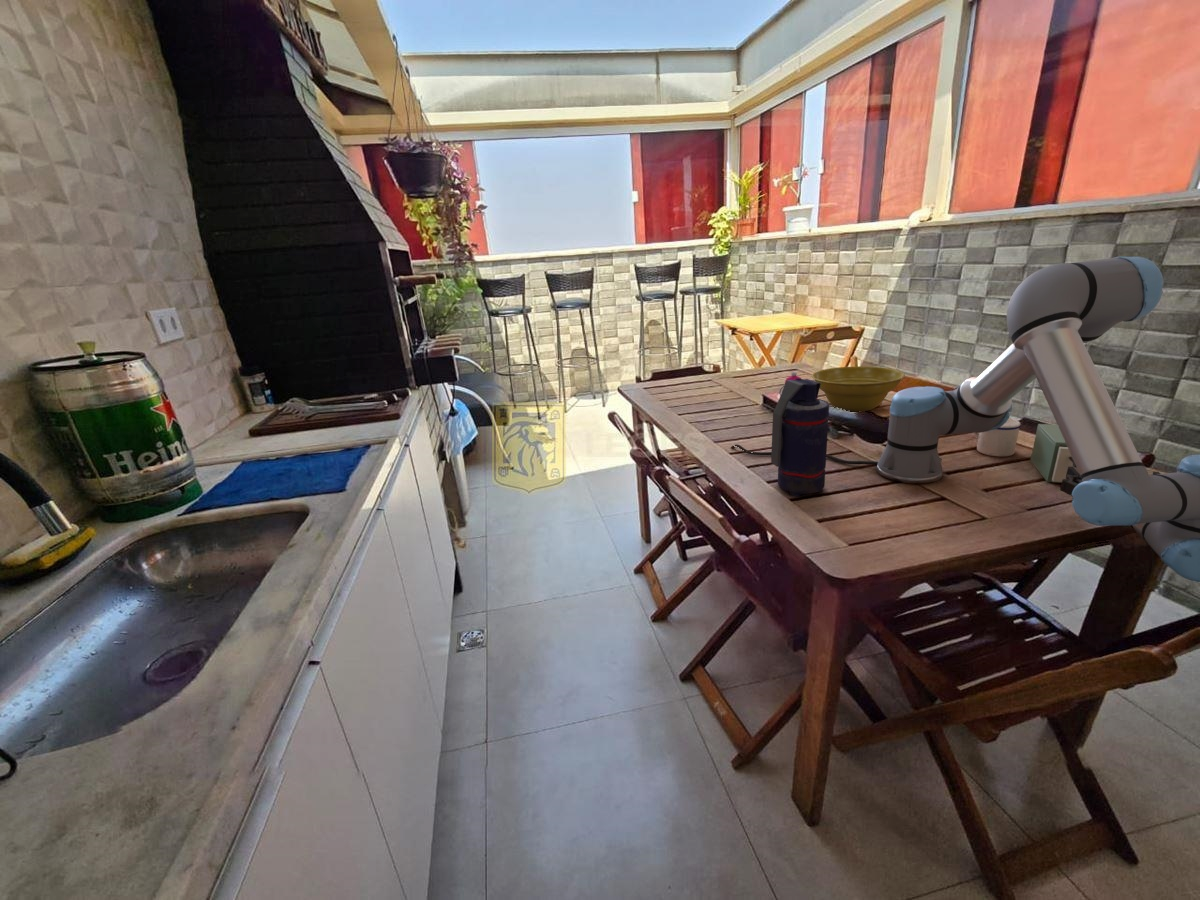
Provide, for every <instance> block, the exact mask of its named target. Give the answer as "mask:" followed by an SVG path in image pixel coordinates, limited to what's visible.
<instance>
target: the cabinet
mask: <svg viewBox="0 0 1200 900" xmlns="http://www.w3.org/2000/svg"><path fill="white" fill-rule="evenodd" d="M1059 446H1067V444H1066V442H1065V440H1064V438H1063V436H1062V433H1061V431H1060V429H1059V427H1058V424H1055V423H1053V424H1052V423H1051V424H1049V423H1037V428H1036V433H1035V438H1034V441H1033V446H1032V450H1031V456H1030V459H1029V461H1030V462H1031V464H1032V465H1033V466H1034V467H1035V468H1036V469H1037V471H1038V472H1039V474H1040V475H1041V476H1042V477H1043V479H1044V481H1046V482H1047V483H1054V482H1053V481H1052V476H1053V471H1054V467H1055V463H1056V459H1057V454H1058V450H1059ZM1055 483H1058V484H1062V482H1055Z"/></svg>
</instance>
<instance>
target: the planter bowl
mask: <svg viewBox="0 0 1200 900" xmlns="http://www.w3.org/2000/svg"><path fill="white" fill-rule="evenodd" d="M905 377H906V373H904V372H903V371H901V370H897V369H894V368H888V367H881V366H880V367H879V366H865V365H864V366H862V365H861V366H855V365H854V366H841V367H831V368H824V369H821V370H818V371H815V372H813V373H812V374H811V378H812V379H813V380H814V381H815V382H818V383H821V385H820V389H819V390H821V391H822V392H824V395H825V398H826V399H827V400H828V401H827V402H828V403H829V405H831V406H832V407H834V406H835V407H838V408H842V409H845V410H850V411H849V412H866V411H872V410H874V409H875V408H877V407H879V406H880V405H881V403H882V402H883V401H884V400H885V399H886V397H887V395H888V394H889V393H891V391H894V390H895V389H896V388H897V387H898V386H899V384H900V382H901V381H902V379H904V378H905ZM835 407H834V408H835Z"/></svg>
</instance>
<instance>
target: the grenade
mask: <svg viewBox="0 0 1200 900" xmlns="http://www.w3.org/2000/svg"><path fill="white" fill-rule="evenodd" d="M820 385H821V383H818V382H815V380H812V379H808V378H801V379H794V380H787V381H786V383H785V382H784V385H782V386H781V387H780V389H779V392H778V393H779V398H778V401H777V403H776V405H775V407H774V410H773V411H772V430H771V451H770V452H771V455H770V463H771V464H773V465H774V466H775V467H776V468H777V485H778V487H780V488H781V489H783V490H785V491H787V492H789V494H790V495H791V496H793V497H801V495H810V494H815V493H818V494H819V493H822V491H823V490H824V488H825V486H826V485H825V484H826V467H827V458H826V454H828V453H827V450H828V435H829V434H828V433H829V432H828V431H829V416H830V415H829V414H830V402H829V401H826V400H824V399H821V398H819V397H818V396H819V392H820V390H821V389H820Z"/></svg>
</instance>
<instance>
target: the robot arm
mask: <svg viewBox="0 0 1200 900" xmlns="http://www.w3.org/2000/svg"><path fill="white" fill-rule="evenodd" d="M1163 277H1164V276H1163V274H1162V272H1161V270H1160V269H1159V267H1158V266H1157V264H1156V263H1155V262H1153V261H1152V260H1151V259H1148V258H1146V257H1142V256H1122V255H1121V256H1116V257H1115V256H1114V257H1109V258H1108V257H1107V258H1102V259H1101V258H1100V259H1094V260H1093V259H1092V260H1083V261H1076V262H1064V263H1063V262H1062V263H1055V264H1052V265H1048V266H1045V267H1042V268H1040V269H1039V270H1036V271H1035V272H1032V274H1030V275H1029V276H1027V277H1026V278H1025V279H1023V281H1022V282H1020V283H1019V284H1018V286H1017V287H1016V288H1015V290H1014V291H1013V293H1012V295H1011V297H1010V299H1009V302H1008V306H1007V309H1006V327H1007V332H1008V335H1009V338H1010V339H1011V342H1012V344H1010V346H1008V348H1006V349H1005V350H1004V351H1003V352H1002V353H1001V354H1000V355H999V356H998V357H997V358H996V359H995V360H994V361H992V363H991V364H990V365H989V366H988V367H987V368H986V369H984V371H983V372H981V374H980V375H976V376H975V375H974V376H971V377H969V378H967V379H965V380H964V381H963V382H962V383H961V384H960V385H959V386H958V387H957V388H955V389H953V390H944V389H943V388H941V387H939V386H929V385H926V386H913V387H907V388H904V389H901V390H899V391H897V392H896V393H895V394H894V395H893V396H892V398H891V403H890V407H889V419H888V429H887V439H886V446H885V447H884V450H883V451H882V452H881V453H882V454H881V456H879V459H878V461H874V460H847V459H842V458H838V457H836V456H834V455H830V454H828V453H826V459H830V460H833V461H835V462H838V463H841V464H846V465H869V466H871V465H872V466H876V472H877V473H878V474H879V475H880V476H881V477H884V478H885V479H887V480H891V481H894V482H897V483H898V482H899V483H904V484H914V485H915V484H916V485H917V484H920V485H921V484H922V485H923V484H931V483H935V482H937V481H939V480H940V479H942V476H943V466H942V461H943V458H942V457H940V454H939V450H938V447H939V439H940V437H942V436H952V435H961V434H973V433H978V434H979V433H982V432H987V431H990V430H995V429H997V428H999V427H1001V426H1002V425H1004V424H1005V423H1006V421H1007V420H1008V419H1009V417H1010V418H1011V414H1010V413H1011V412H1012V410H1013V398H1014V397H1015V396H1016V395H1017V394H1018V393H1020V392H1021V391H1022V390H1023V389H1025V388H1026V387H1027V386H1028V385H1029V384H1031V383H1032V382H1034V381H1035V380H1037V382H1038V385H1039V387H1040V389H1041V391H1042V394H1043V395H1044V399H1045V401H1046V403H1047V404H1048V407H1049V409H1050V411H1051V413H1052V415H1053V418H1054V420H1055V422H1056V425H1058V427H1059V429H1060V431H1061V433H1062V436H1063V438H1064V440H1065V442H1066V444H1067V447H1068V449H1069V451H1070V453H1071V455H1072V458H1073V460H1074V462H1075V464H1076V467H1077V469H1078V471H1079V473H1080V474H1079V473H1078V472H1077V471H1076V470H1075V469H1074V467H1070V466H1068V470H1067V474H1066V479H1063V480H1062V483H1060V484H1061V485H1060V489H1059V490H1060V491H1061V492H1063V493H1065V494H1068V495H1069V496H1071V497H1072V501H1071V506H1072V508H1073V510H1074V512H1075V513H1076V514H1077V515H1078V517H1079V518H1081V519H1082V520H1083V521H1085V522H1087V523H1088V524H1090V525H1094V526H1098V527H1099V526H1100V527H1109V526H1111V527H1112V526H1119V527H1120V526H1124V527H1129V526H1130V527H1131V528H1132V529H1133V531H1135V533H1137V535H1139V536H1140V538H1142V540H1143V541H1144V542H1145V543H1146V544H1147V545H1148V546H1150V548H1151V549H1152V550H1153V552H1154V553H1156V554H1157V555H1158V557H1159V558H1160V559H1161V561H1162V563H1163V564H1164V565H1166V566H1167V567H1168V568H1170V569H1171V570H1172V571H1173V572H1175V573H1176V574H1177V575H1178V576H1180V577H1181V578H1184V579H1186V580H1188V581H1192V582H1196V583H1200V454H1189V455H1187V456H1185V457H1184V458H1182V459H1181V460H1180V462H1179V464H1178V466H1177V467H1176V468H1175V469H1176V472H1166V473H1165V472H1164V473H1160V472H1159V471H1152V474H1149V471H1148V470H1147V468H1146V466H1145V464H1144V463H1143V460H1142V459H1141V457H1140V454H1139V453H1138V451H1137V449H1136V447H1135V445H1134V443H1133V441H1132V440H1133V439H1132V438H1131V437H1130V435H1129V432H1128V430H1127V428H1126V426H1125V424H1124V422H1123V421H1122V418H1121V416H1120V414H1119V411H1118V410H1117V408H1116V407H1115V404H1114V402H1113V400H1112V398H1111V396H1110V394H1109V392H1108V390H1107V387H1106V385H1105V384H1104V382H1103V379H1102V378H1101V376H1100V373H1099V371H1098V369H1097V368H1096V366H1095V363H1094V362H1093V360H1092V357H1091V355H1090V353H1089V351H1088V349H1087V347H1086V345H1085V343H1090V342H1093V341H1096V340H1098V339H1099V338H1100V337H1102V336H1103V335H1104V334H1106V333H1107V332H1108V331H1109V330H1110V329H1112V328H1113V327H1115V325H1117V324H1119V323H1122V322H1124V323H1125V322H1126V323H1127V322H1128V323H1129V322H1133V321H1137V320H1139V319H1142V318H1144V317H1146V316H1148V315H1149V314H1151V312H1152V311H1154V310H1155V308H1156V307H1157V306H1158V304H1159V303H1160V301H1161V299H1162V296H1163V293H1164V290H1163V286H1164V283H1165V282H1164V278H1163ZM734 445H735V446H737V447H734V446H733V445H732V446H730V449H731V450H733V449H736V448H738V447H739V448H738V449H740V450H741V449H742V450H741V451H742V452H744V453H746V454H748V455H753V456H771V451H753V450H752V451H751V450H748V449H746V448H744V446H742V445H740V444H738V443H737V444H736V443H735V444H734ZM743 450H744V451H743ZM746 451H748V452H746ZM751 452H753V453H751Z"/></svg>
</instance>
